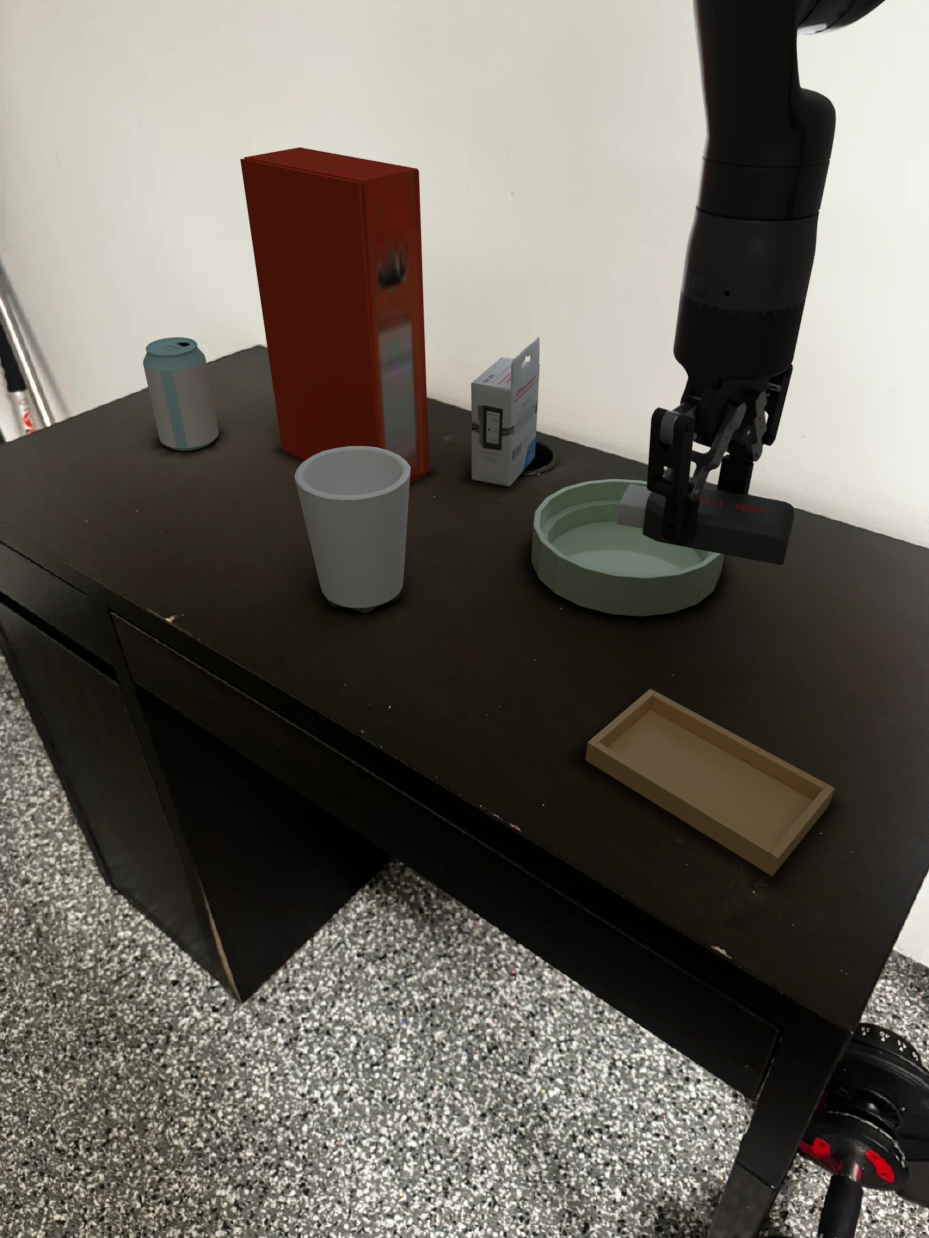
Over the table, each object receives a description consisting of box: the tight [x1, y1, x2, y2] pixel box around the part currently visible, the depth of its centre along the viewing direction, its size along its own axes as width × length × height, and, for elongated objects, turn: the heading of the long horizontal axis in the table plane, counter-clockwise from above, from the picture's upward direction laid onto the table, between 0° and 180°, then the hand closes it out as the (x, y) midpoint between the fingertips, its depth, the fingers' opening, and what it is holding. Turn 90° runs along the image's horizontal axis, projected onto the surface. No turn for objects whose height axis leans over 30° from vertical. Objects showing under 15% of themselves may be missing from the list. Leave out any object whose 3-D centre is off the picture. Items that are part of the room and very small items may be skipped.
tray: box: [584, 688, 836, 877], centre depth 64 cm, size 15×8×2 cm, turn 47°
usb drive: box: [617, 484, 795, 566], centre depth 64 cm, size 5×12×3 cm, turn 67°
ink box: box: [470, 336, 541, 488], centre depth 99 cm, size 8×5×15 cm, turn 156°
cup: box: [294, 446, 411, 614], centre depth 80 cm, size 10×10×13 cm
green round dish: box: [530, 478, 725, 617], centre depth 86 cm, size 18×18×4 cm
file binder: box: [239, 147, 430, 483], centre depth 95 cm, size 8×17×32 cm, turn 48°
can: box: [142, 336, 220, 452], centre depth 106 cm, size 7×7×12 cm
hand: (704, 521), depth 64 cm, fingers closed on usb drive, 6 cm apart
